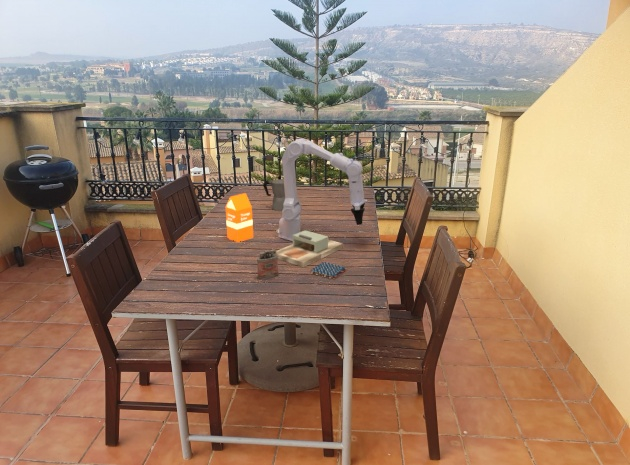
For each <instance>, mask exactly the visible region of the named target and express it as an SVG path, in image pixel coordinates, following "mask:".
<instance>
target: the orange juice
mask: <svg viewBox="0 0 630 465" xmlns="http://www.w3.org/2000/svg"><path fill="white" fill-rule="evenodd" d="M225 216H226V217H225V219H226V220H225V221H226V236H227V239H228V238H229V239H228V240H230V241H233V240H234V241H233V242H236V243H240V241H241V242H243V241H244V242H245V241H246V240H250V239H253V238H254V226H253V225H254V224H253V223H254V222H253V206H252V204H251V203H250V200H249V198H248V195H247V193H246V192H244V193H239V194H236V195H231V196H230V197H229V199H228V201H227V203H226V205H225Z"/></svg>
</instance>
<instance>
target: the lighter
mask: <svg viewBox="0 0 630 465" xmlns="http://www.w3.org/2000/svg"><path fill="white" fill-rule="evenodd" d="M276 251H277V250H276V248H275V249H269V250H266V249H265V250H264V251H261V252H259V257H256V261H257V279H258V280H265V279H272V278H275V277H278V276H279V274H280V273H279V259H278V255H273V254H275V253H276Z"/></svg>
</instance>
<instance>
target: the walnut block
mask: <svg viewBox="0 0 630 465" xmlns="http://www.w3.org/2000/svg"><path fill="white" fill-rule="evenodd" d="M303 249H306V250H309V251H313V250H314V245H312V244H309V243H305V242H303Z"/></svg>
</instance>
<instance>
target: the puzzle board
mask: <svg viewBox="0 0 630 465" xmlns="http://www.w3.org/2000/svg"><path fill="white" fill-rule="evenodd" d="M343 248H344V243H342V242H338V241H335V240H331V239H328V248H326V249H323V250H321V251H319V252H317V253H314V250H313V251H309V250H306V249H303V243H301V244H298V245H296V246H293V243H292V244H290V245H288V246H285V247H282V248H281V249H278V250H276V253H275V254H273V255H278V260H280V261H283V262H286V263H289V264H291V265H295V266H298V267H301V268H305V267H307V266H308V265H311V264H313V263H315V262H317V261H319V260H321V259H323V258H325V257H327V256H330V255H331V254H333V253H336V252H337V251H340V250H341V249H343Z"/></svg>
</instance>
